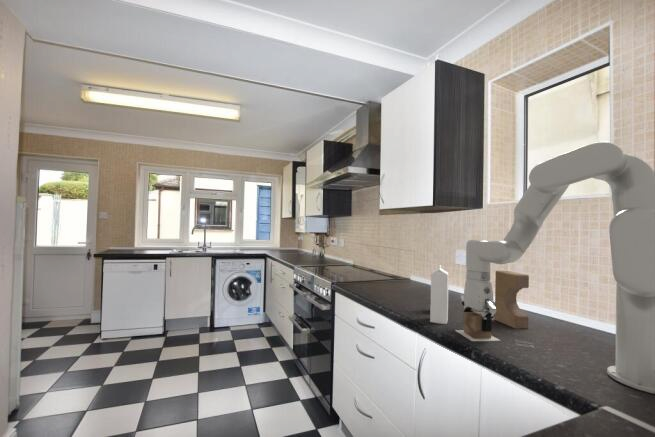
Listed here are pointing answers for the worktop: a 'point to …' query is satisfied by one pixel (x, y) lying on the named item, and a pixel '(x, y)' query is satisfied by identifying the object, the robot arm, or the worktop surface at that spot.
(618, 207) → the robot arm
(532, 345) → the tile
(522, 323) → the decorative block
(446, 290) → the milk
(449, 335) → the worktop surface
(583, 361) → the worktop surface
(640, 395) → the worktop surface
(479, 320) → the walnut block
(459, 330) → the grey mat
